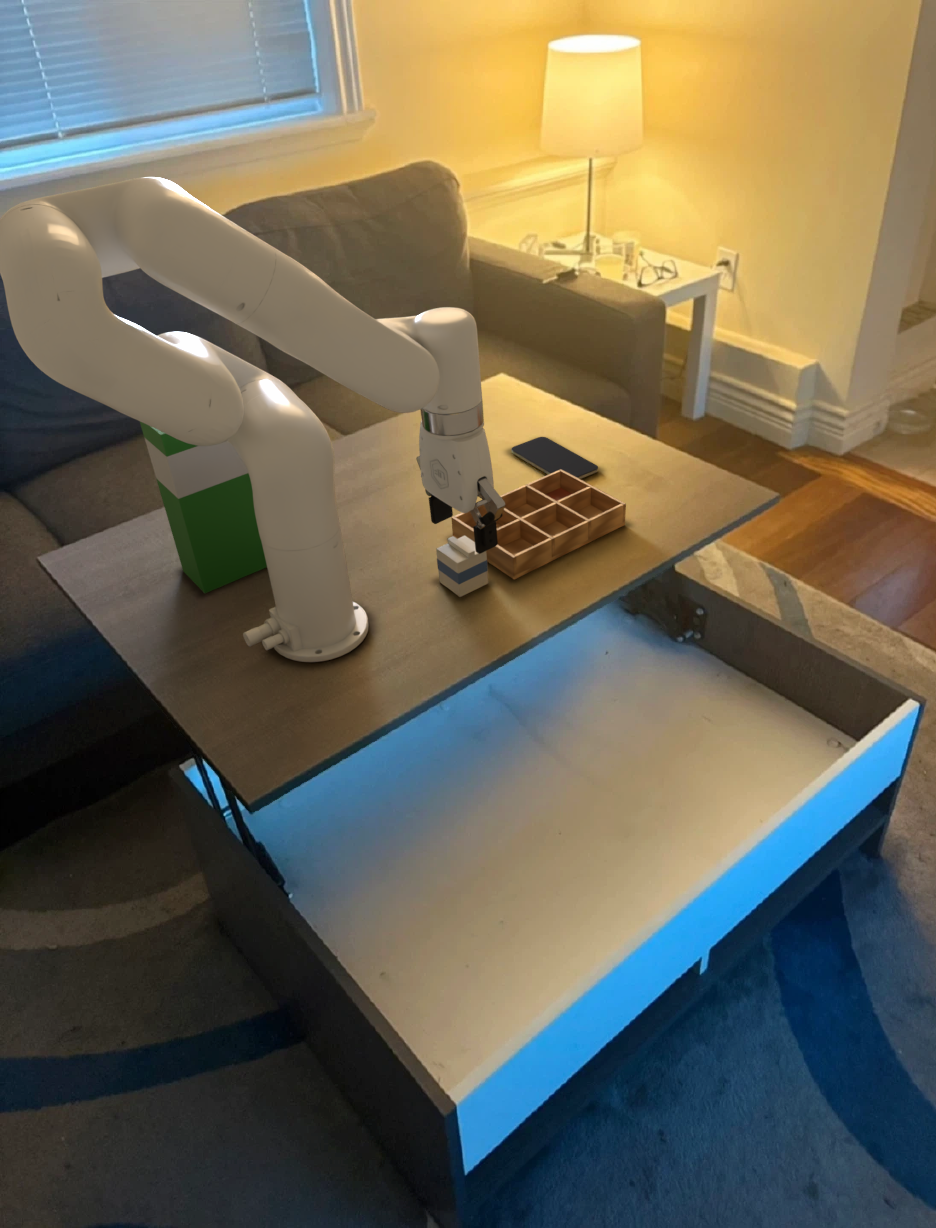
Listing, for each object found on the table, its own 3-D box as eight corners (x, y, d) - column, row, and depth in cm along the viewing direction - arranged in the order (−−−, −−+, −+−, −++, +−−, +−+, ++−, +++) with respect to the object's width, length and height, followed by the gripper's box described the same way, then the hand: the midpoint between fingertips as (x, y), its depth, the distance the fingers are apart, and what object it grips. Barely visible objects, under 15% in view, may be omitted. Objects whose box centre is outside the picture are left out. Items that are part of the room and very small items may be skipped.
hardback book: (291, 526, 144) (261, 376, 129) (316, 546, 139) (287, 392, 124) (183, 570, 136) (138, 415, 121) (204, 593, 131) (160, 434, 116)
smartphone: (543, 435, 161) (601, 467, 151) (543, 438, 162) (601, 471, 151) (508, 448, 158) (565, 481, 148) (508, 452, 159) (565, 485, 148)
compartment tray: (514, 579, 129) (513, 557, 127) (452, 538, 138) (451, 517, 136) (625, 524, 139) (626, 503, 136) (560, 489, 148) (560, 468, 146)
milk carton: (459, 597, 127) (456, 559, 123) (438, 581, 130) (435, 543, 126) (488, 583, 129) (486, 545, 125) (467, 568, 132) (464, 530, 128)
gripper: (387, 402, 119) (403, 519, 129) (470, 449, 107) (481, 573, 118) (436, 384, 122) (448, 499, 132) (522, 427, 110) (528, 549, 121)
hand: (464, 533), depth 125 cm, fingers open, 9 cm apart
